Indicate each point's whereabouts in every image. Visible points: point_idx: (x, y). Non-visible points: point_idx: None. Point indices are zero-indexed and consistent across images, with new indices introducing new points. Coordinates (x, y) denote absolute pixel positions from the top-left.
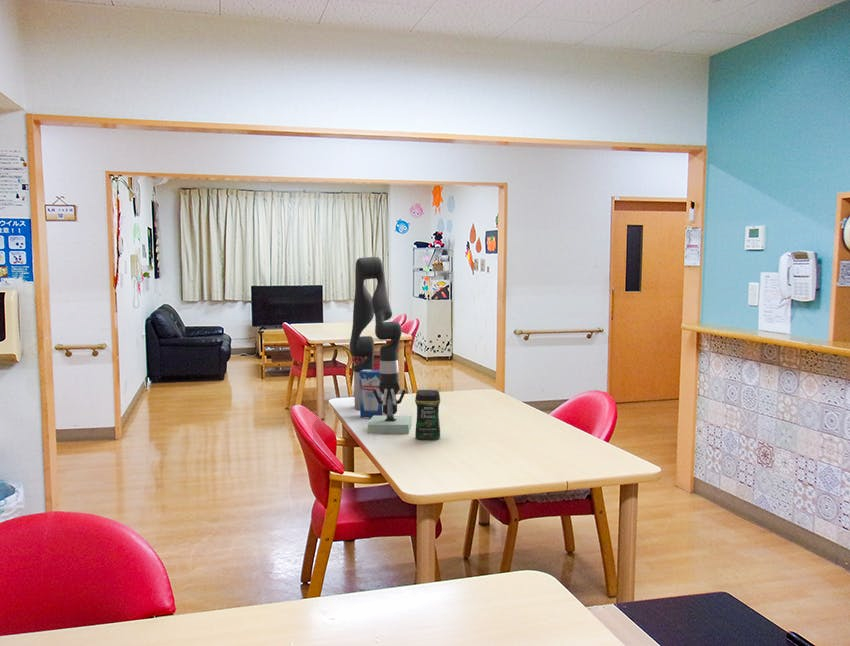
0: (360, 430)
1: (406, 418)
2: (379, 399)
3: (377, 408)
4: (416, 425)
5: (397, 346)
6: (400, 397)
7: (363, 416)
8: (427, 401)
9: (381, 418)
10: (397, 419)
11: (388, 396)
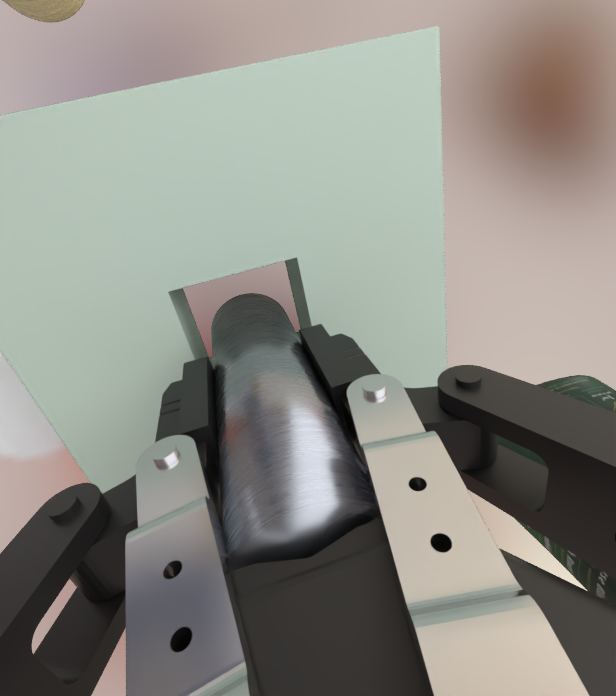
0: (9, 427)
1: (401, 215)
2: (111, 639)
3: None
4: (527, 529)
5: None
6: (544, 523)
7: None
8: None
9: (114, 290)
10: (317, 285)
11: (271, 555)
